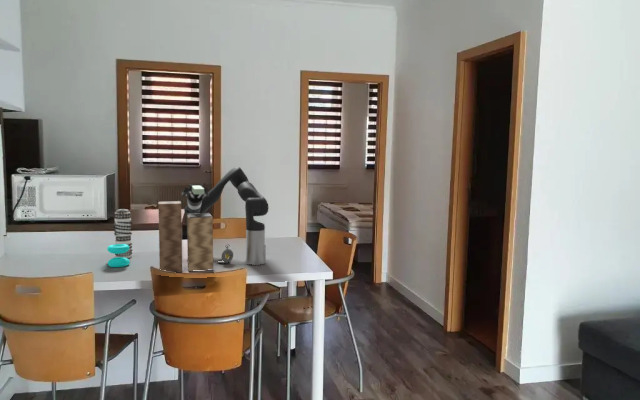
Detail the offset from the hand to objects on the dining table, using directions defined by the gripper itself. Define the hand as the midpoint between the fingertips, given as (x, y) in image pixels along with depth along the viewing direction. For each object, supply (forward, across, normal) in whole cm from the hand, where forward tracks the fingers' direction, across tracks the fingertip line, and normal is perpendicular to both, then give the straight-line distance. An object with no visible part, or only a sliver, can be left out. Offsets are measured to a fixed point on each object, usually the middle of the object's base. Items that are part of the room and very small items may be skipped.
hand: (196, 185), depth 247 cm
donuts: (-23, +37, -32) cm, 54 cm away
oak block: (-9, 0, -40) cm, 41 cm away
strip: (+5, 0, -6) cm, 8 cm away
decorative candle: (-40, +36, -22) cm, 58 cm away
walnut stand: (-10, +13, -39) cm, 42 cm away
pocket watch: (-16, -13, -36) cm, 41 cm away
